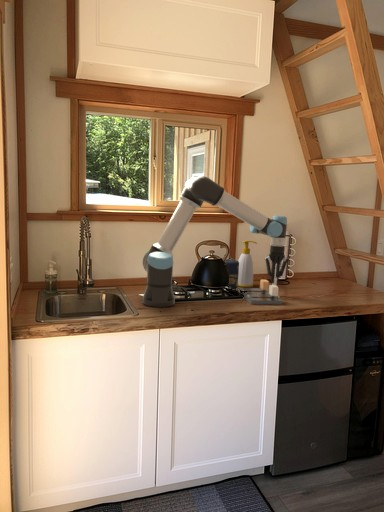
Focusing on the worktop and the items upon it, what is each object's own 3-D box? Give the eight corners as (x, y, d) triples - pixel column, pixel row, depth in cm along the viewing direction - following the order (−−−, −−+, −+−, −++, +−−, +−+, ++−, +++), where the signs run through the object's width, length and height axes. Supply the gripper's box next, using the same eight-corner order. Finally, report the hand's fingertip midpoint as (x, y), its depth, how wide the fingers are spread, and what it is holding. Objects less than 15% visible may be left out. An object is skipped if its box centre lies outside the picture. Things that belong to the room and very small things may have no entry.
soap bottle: (254, 288, 248) (258, 242, 244) (234, 286, 248) (237, 241, 244) (252, 283, 259) (256, 240, 255) (233, 282, 259) (236, 239, 255)
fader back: (262, 291, 229) (263, 281, 228) (259, 289, 233) (260, 279, 233) (268, 291, 229) (268, 281, 228) (265, 289, 234) (265, 279, 233)
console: (250, 304, 211) (251, 298, 211) (237, 291, 236) (237, 286, 236) (282, 304, 214) (282, 298, 213) (265, 292, 239) (266, 286, 239)
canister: (236, 294, 230) (238, 260, 227) (218, 292, 232) (220, 259, 229) (238, 290, 239) (240, 258, 237) (221, 288, 241) (223, 256, 239)
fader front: (271, 297, 216) (272, 287, 215) (268, 295, 221) (269, 284, 220) (277, 297, 216) (278, 287, 216) (274, 295, 221) (275, 285, 220)
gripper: (268, 245, 224) (264, 290, 227) (292, 246, 226) (288, 290, 229) (263, 243, 231) (260, 287, 235) (286, 244, 233) (283, 287, 237)
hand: (273, 288), depth 232 cm, fingers closed
